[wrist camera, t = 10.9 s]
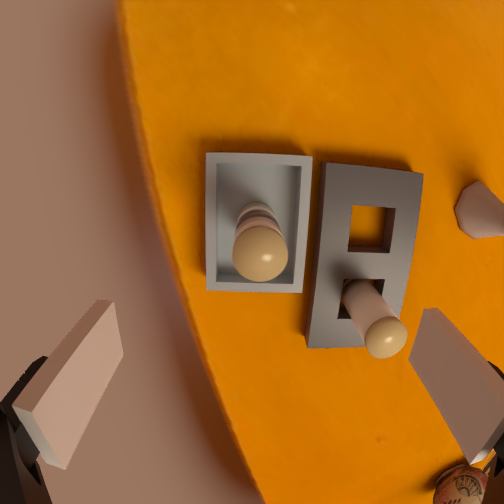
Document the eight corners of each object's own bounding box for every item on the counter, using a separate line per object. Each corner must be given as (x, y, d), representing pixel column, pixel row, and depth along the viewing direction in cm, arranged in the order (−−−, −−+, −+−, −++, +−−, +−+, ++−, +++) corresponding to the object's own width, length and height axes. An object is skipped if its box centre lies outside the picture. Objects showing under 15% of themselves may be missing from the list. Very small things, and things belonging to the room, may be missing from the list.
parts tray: (210, 152, 32) (206, 152, 29) (307, 155, 32) (312, 156, 29) (209, 278, 36) (206, 290, 33) (298, 281, 36) (302, 292, 34)
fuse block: (321, 161, 32) (326, 162, 30) (413, 171, 32) (423, 173, 30) (304, 336, 39) (307, 348, 36) (384, 334, 39) (391, 344, 37)
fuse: (341, 274, 36) (372, 322, 26) (373, 274, 36) (411, 320, 26) (336, 305, 37) (363, 359, 27) (367, 304, 37) (401, 356, 27)
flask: (445, 209, 34) (495, 230, 24) (477, 170, 32) (530, 181, 22) (470, 247, 35) (517, 275, 26) (500, 209, 33) (549, 229, 24)
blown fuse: (237, 201, 33) (232, 228, 22) (276, 202, 33) (289, 229, 23) (236, 238, 34) (231, 281, 24) (274, 239, 34) (286, 282, 24)
